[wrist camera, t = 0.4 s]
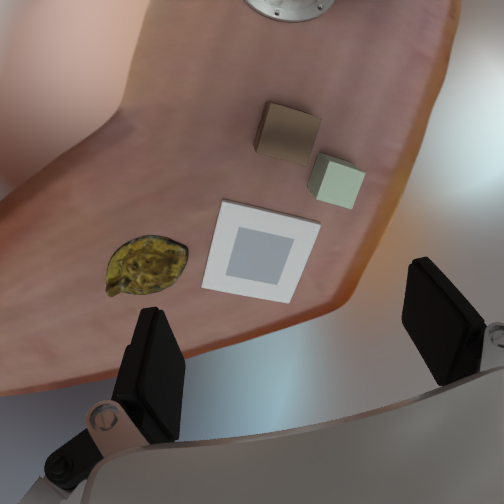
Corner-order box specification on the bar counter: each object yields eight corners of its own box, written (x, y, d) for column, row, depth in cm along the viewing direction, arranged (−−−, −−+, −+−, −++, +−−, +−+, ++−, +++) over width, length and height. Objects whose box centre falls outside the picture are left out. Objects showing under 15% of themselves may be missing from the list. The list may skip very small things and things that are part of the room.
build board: (222, 198, 42) (222, 201, 41) (319, 222, 45) (321, 225, 44) (201, 283, 49) (201, 287, 48) (288, 299, 51) (289, 303, 50)
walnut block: (266, 100, 36) (271, 102, 32) (311, 114, 38) (321, 118, 33) (253, 145, 39) (256, 152, 35) (297, 157, 40) (305, 166, 36)
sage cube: (318, 152, 40) (329, 160, 36) (351, 163, 41) (365, 173, 37) (306, 186, 42) (315, 199, 38) (339, 196, 43) (351, 209, 39)
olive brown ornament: (170, 215, 44) (95, 259, 47) (163, 226, 40) (83, 273, 43) (203, 268, 48) (127, 305, 50) (199, 283, 44) (119, 321, 46)
